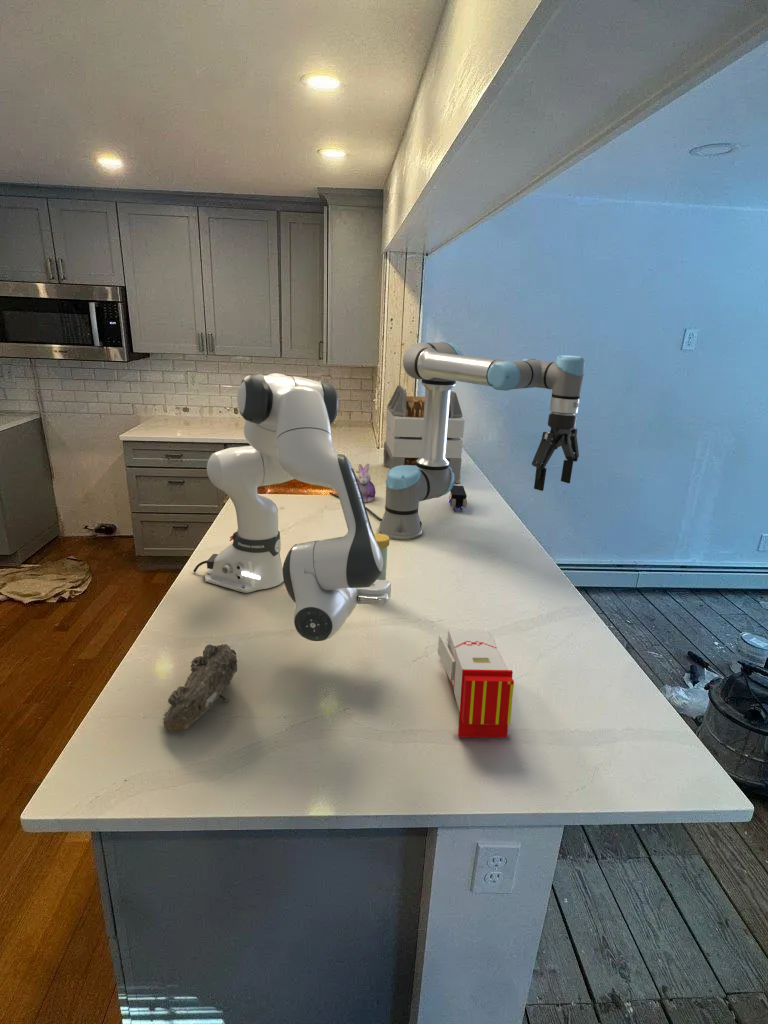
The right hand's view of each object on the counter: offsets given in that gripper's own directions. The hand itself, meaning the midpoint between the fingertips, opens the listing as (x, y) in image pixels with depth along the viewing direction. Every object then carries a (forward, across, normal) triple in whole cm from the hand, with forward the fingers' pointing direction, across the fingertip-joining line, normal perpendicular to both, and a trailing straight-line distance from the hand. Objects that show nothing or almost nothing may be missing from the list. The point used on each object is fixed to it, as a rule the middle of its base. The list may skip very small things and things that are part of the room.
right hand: (552, 485), depth 166 cm
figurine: (+28, -1, +84) cm, 89 cm away
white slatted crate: (+28, +46, +101) cm, 115 cm away
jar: (+28, -51, +17) cm, 61 cm away
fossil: (+28, -105, +5) cm, 109 cm away
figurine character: (+28, +24, +56) cm, 67 cm away
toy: (+28, -62, -26) cm, 72 cm away
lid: (+10, -51, +17) cm, 55 cm away
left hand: (+12, -70, +5) cm, 71 cm away
